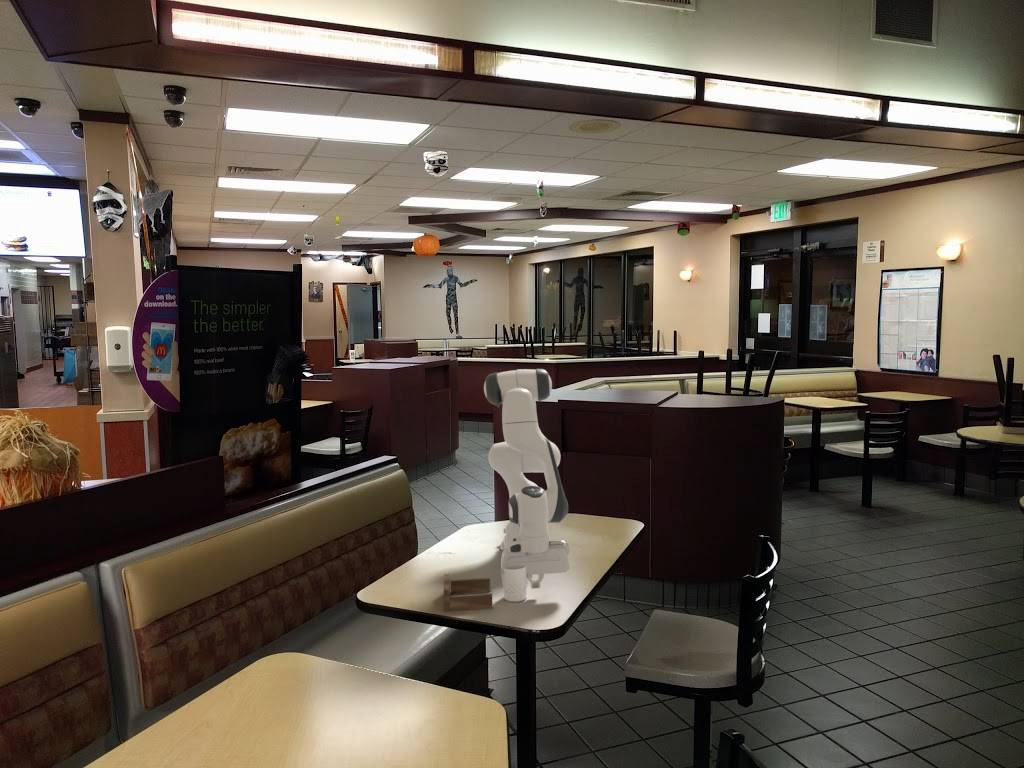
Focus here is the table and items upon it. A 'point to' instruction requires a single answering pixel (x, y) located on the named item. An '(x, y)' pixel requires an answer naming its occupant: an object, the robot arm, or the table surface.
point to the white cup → (514, 584)
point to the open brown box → (467, 600)
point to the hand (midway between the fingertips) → (535, 587)
